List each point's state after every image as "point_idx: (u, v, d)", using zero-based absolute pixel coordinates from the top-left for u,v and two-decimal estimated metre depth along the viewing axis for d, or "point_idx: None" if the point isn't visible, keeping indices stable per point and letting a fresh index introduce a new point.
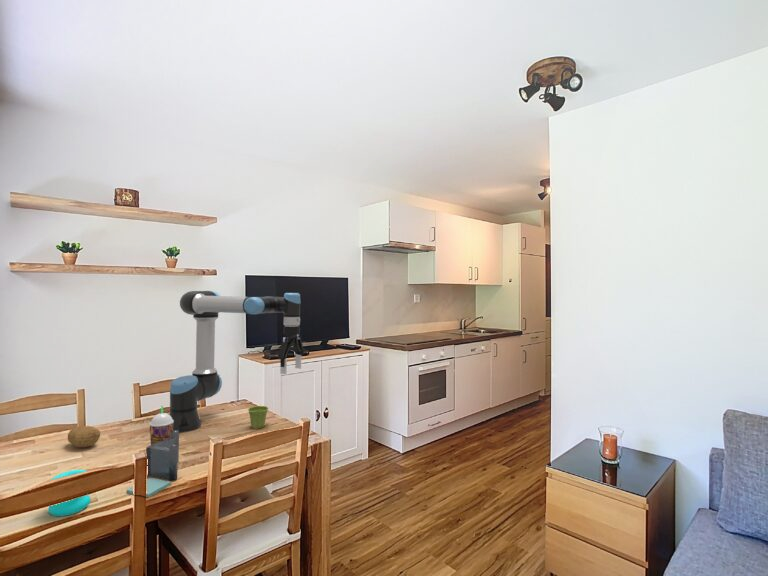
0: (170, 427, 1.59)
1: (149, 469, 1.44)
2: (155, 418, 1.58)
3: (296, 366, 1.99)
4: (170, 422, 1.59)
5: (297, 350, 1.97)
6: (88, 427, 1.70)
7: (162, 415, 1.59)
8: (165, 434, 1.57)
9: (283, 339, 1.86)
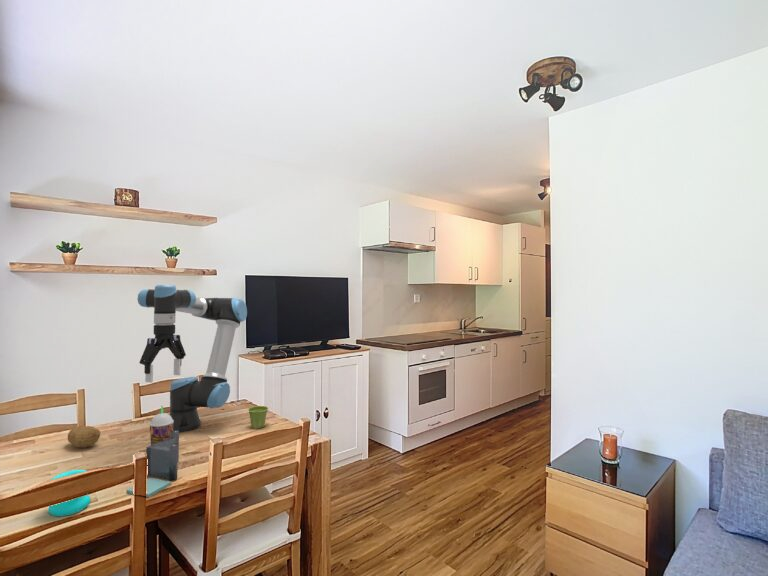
0: (170, 427, 1.59)
1: (149, 469, 1.44)
2: (155, 418, 1.58)
3: (174, 372, 1.67)
4: (170, 422, 1.59)
5: (175, 353, 1.66)
6: (88, 427, 1.70)
7: (162, 415, 1.59)
8: (165, 434, 1.57)
9: (149, 340, 1.54)
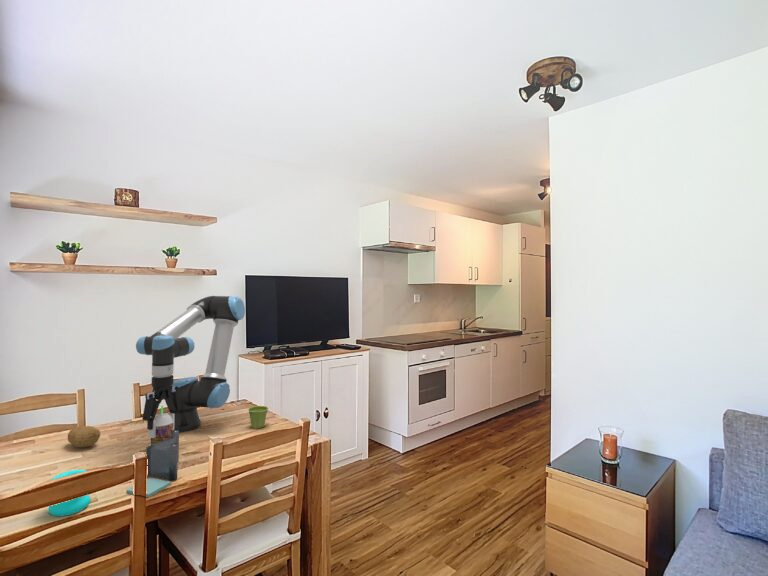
0: (170, 427, 1.59)
1: (149, 469, 1.44)
2: (155, 418, 1.58)
3: None
4: (170, 422, 1.59)
5: (170, 406, 1.64)
6: (88, 427, 1.70)
7: (162, 415, 1.59)
8: (165, 434, 1.57)
9: (147, 396, 1.54)
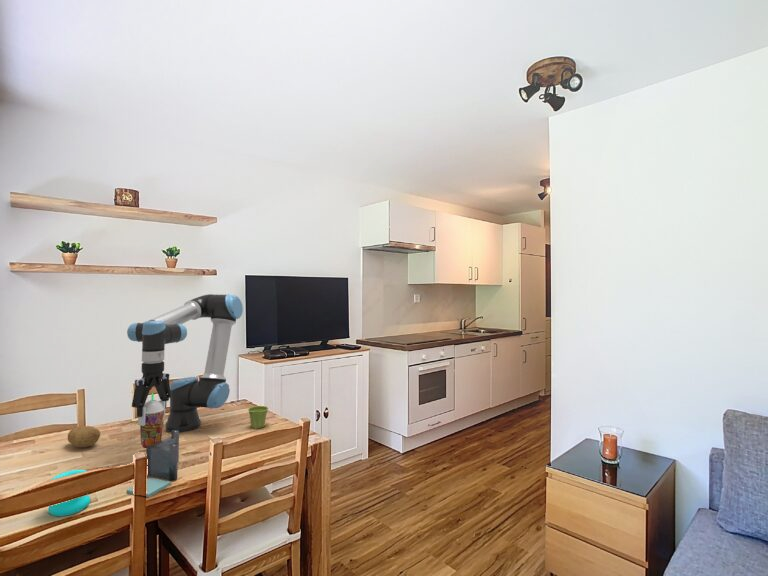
0: (161, 415, 1.55)
1: (149, 469, 1.44)
2: (145, 405, 1.53)
3: None
4: (161, 410, 1.55)
5: (160, 394, 1.59)
6: (88, 427, 1.70)
7: (152, 402, 1.54)
8: (155, 422, 1.53)
9: (136, 383, 1.49)
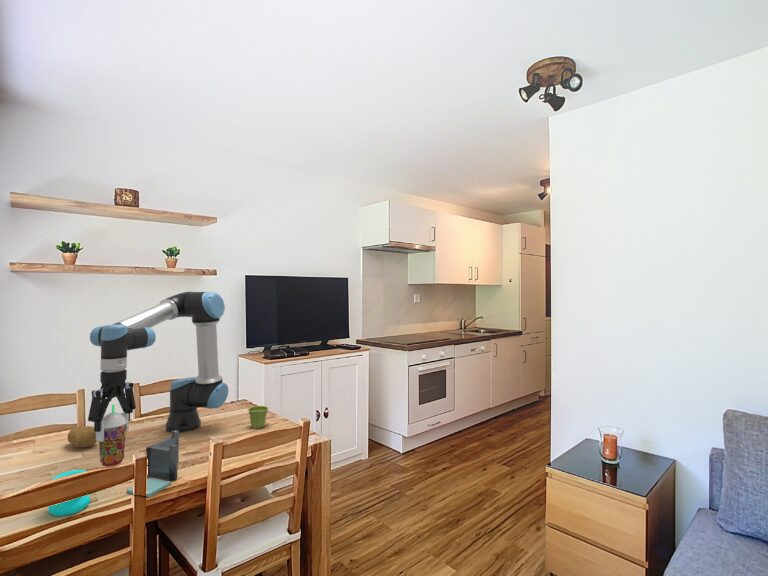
0: (122, 429, 1.39)
1: (149, 469, 1.44)
2: (104, 419, 1.38)
3: None
4: (122, 423, 1.39)
5: (123, 405, 1.44)
6: (88, 427, 1.70)
7: (113, 415, 1.39)
8: (116, 437, 1.38)
9: (93, 394, 1.34)
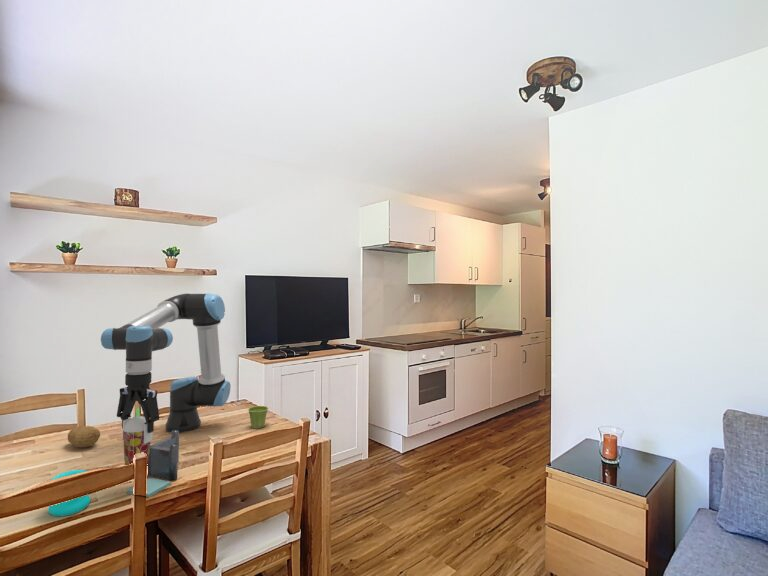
0: (127, 436, 1.33)
1: (149, 469, 1.44)
2: None
3: None
4: (127, 430, 1.33)
5: None
6: (88, 427, 1.70)
7: (131, 418, 1.36)
8: (124, 441, 1.34)
9: None
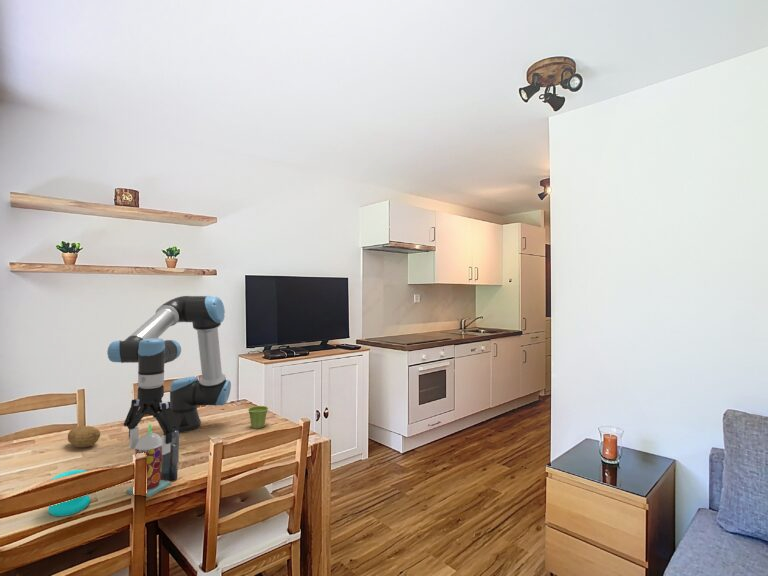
0: None
1: None
2: None
3: None
4: (140, 447, 1.31)
5: None
6: (88, 427, 1.70)
7: (143, 435, 1.34)
8: None
9: None
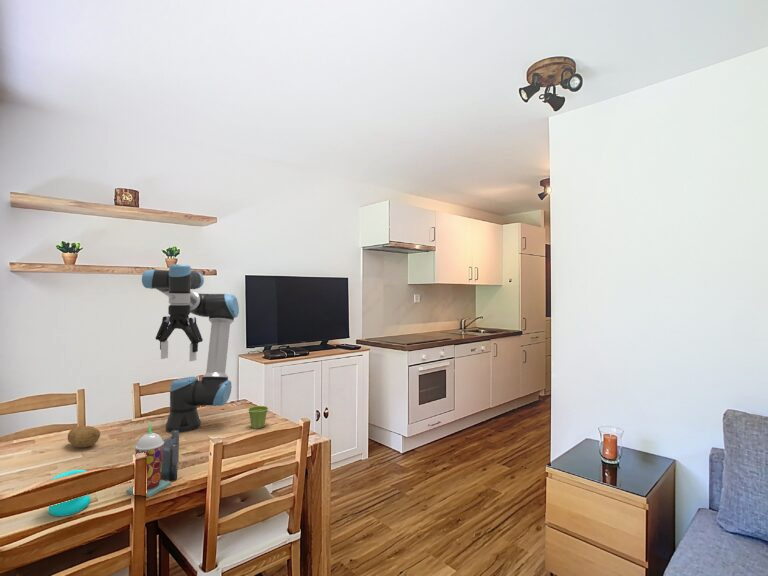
0: None
1: None
2: None
3: None
4: (140, 447, 1.31)
5: None
6: (88, 427, 1.70)
7: (144, 435, 1.34)
8: None
9: None
